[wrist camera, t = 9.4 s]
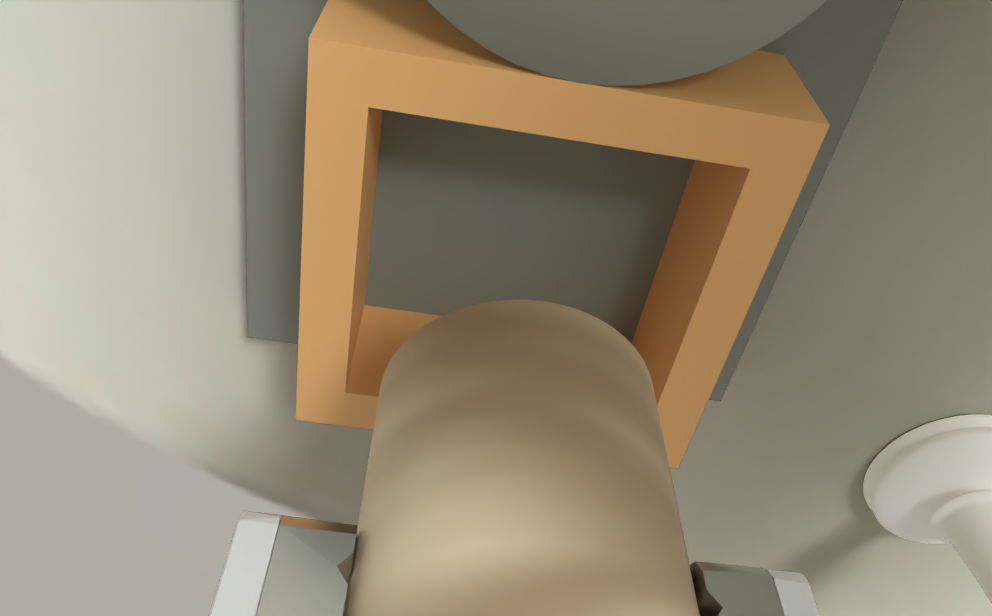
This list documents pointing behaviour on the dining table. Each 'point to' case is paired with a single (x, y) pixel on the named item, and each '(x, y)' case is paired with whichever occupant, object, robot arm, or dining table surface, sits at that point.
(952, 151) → the dining table surface
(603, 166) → the base
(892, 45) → the dining table surface
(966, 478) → the chess piece
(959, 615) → the dining table surface
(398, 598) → the wooden peg
